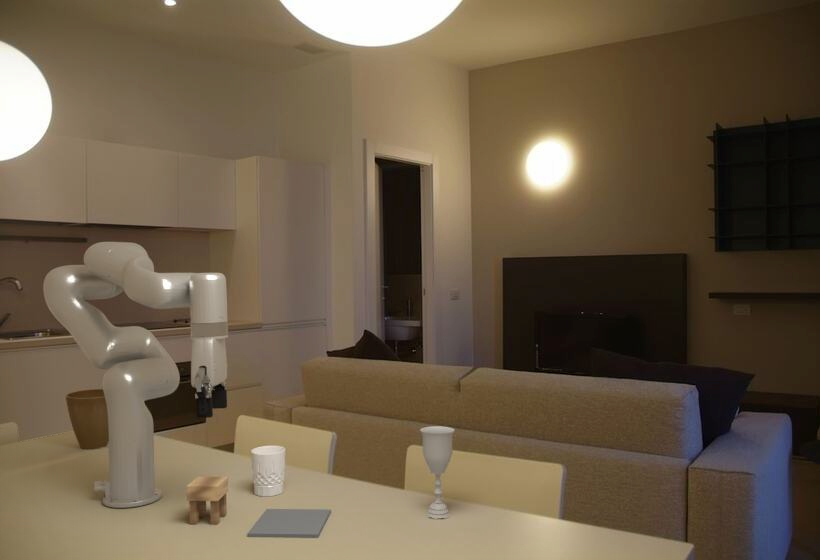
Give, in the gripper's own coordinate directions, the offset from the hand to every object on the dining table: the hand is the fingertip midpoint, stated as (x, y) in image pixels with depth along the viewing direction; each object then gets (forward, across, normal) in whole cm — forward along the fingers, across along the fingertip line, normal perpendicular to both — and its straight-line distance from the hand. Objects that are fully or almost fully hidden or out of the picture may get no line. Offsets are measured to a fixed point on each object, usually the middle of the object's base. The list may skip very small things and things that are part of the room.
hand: (212, 412), depth 147 cm
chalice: (+23, -2, +47) cm, 52 cm away
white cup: (+22, -17, +7) cm, 29 cm away
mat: (+23, +3, +17) cm, 28 cm away
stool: (+22, +1, -1) cm, 22 cm away
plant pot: (+21, -60, -56) cm, 84 cm away
